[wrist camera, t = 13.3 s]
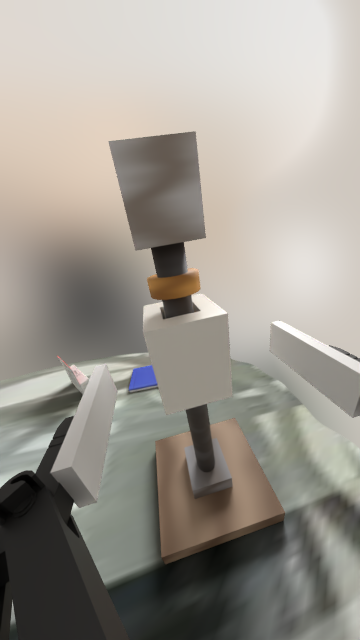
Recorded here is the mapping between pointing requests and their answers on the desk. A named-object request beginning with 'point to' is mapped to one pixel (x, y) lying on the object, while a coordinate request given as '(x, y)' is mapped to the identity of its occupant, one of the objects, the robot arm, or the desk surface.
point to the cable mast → (175, 291)
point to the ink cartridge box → (76, 377)
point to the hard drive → (143, 379)
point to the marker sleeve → (189, 354)
